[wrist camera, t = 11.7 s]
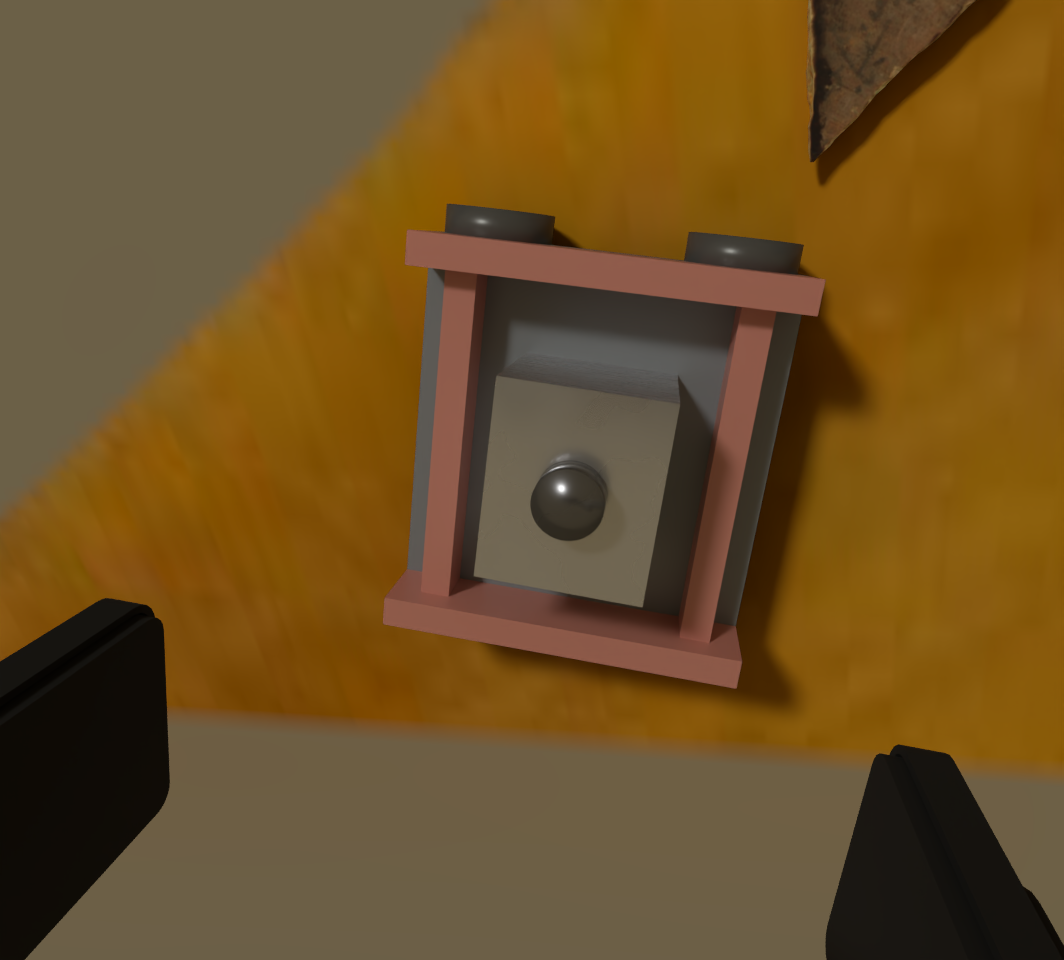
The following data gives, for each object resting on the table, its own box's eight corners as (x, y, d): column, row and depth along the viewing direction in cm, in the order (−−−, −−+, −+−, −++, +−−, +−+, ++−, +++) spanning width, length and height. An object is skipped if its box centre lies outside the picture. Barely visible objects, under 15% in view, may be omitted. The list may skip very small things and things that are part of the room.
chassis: (800, 245, 27) (832, 245, 21) (720, 634, 31) (731, 712, 26) (456, 206, 28) (409, 197, 23) (426, 582, 33) (381, 647, 27)
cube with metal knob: (677, 374, 26) (681, 411, 20) (646, 545, 27) (641, 622, 22) (526, 352, 26) (488, 381, 20) (506, 520, 28) (465, 590, 22)
